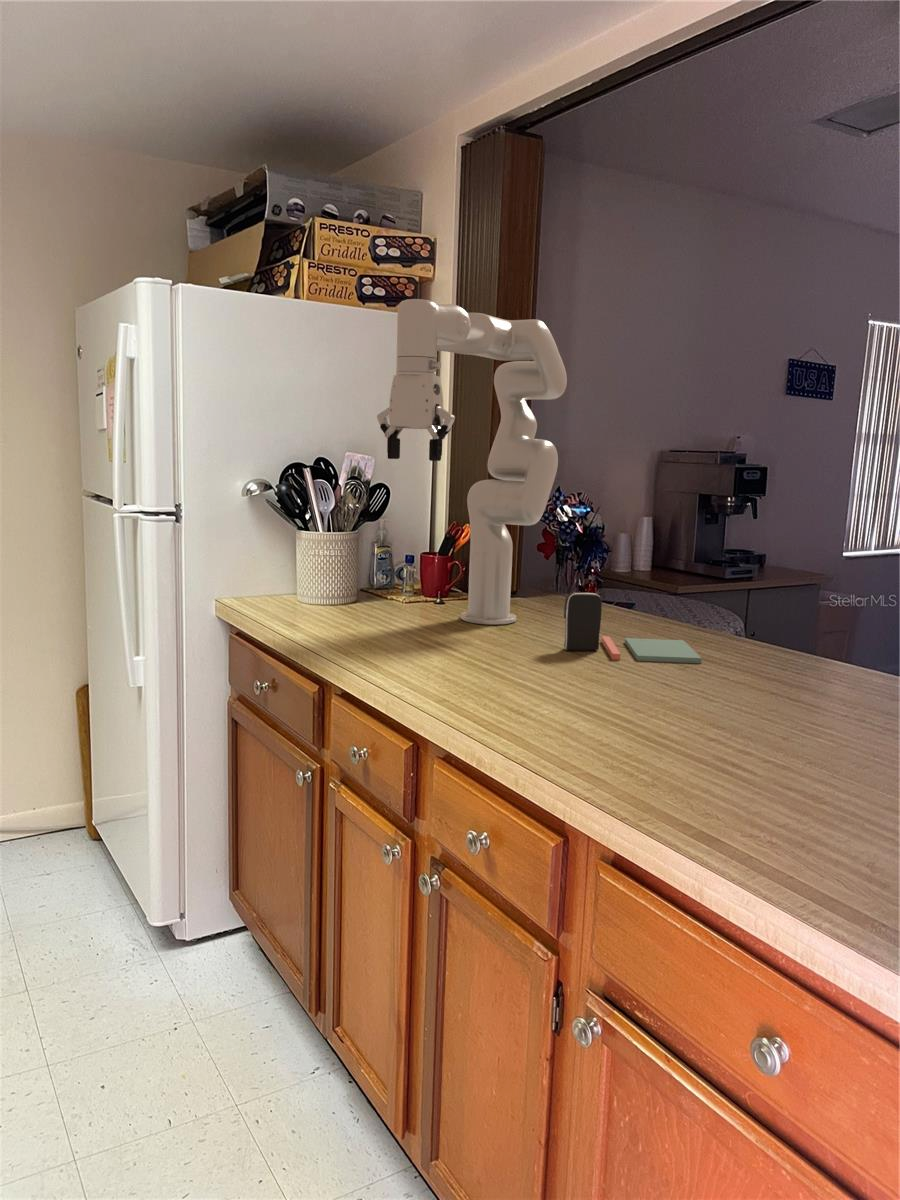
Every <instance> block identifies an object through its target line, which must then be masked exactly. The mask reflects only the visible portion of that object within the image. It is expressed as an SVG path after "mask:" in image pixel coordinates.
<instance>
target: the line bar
mask: <svg viewBox="0 0 900 1200" xmlns="http://www.w3.org/2000/svg"><path fill="white" fill-rule="evenodd" d="M601 644H602V645H603V647H604V648H605V651H606V652H607V654H608V655H609V657H610V659H611V660H612V661H620V660H621V653H620V651H619V649H618V648H617V645H615V643H614V641H613V640H612V638H611V637H610V636H609V635H607V636H606V635H602V636H601Z"/></svg>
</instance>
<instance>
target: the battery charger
mask: <svg viewBox="0 0 900 1200" xmlns="http://www.w3.org/2000/svg"><path fill="white" fill-rule="evenodd" d="M602 605H603V603H602V598H601V596H600V595H599V594H597V593H594V592H585V591H583V592H582V591H581V592H579V591H578V592H571V593H568V594H567V595H566V597H565V600H564V610H563V618H564V619H565V637H564V638H565V639H564V649H565V650H566V651H571V652H589V651H599V645H600V644H599V643H600V631H601V621H602V612H603V608H602Z"/></svg>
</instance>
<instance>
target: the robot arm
mask: <svg viewBox="0 0 900 1200" xmlns="http://www.w3.org/2000/svg"><path fill="white" fill-rule="evenodd" d="M396 321H397V323H396V324H397V326H396V327H397V328H396V329H397V330H396V332H397V333H396V369H395V370H396V371H395V372H396V373H395V374H396V375H393V378H392V382H391V388H390V396H389V405H388V406H389V407H388V408H386V409H384V410H383V411H381V412H380V413H378V414H377V416H376V418H377V422H378V424H379V425H380V430H381V431H382V432H383V433H384V438H386V443H387V444H386V445H387V446H386V449H387V450H386V452H387V459H388V460H399V459H400V457H401V438H400V437H399V435H400V434H401V432H402V431H403V430H404V429H407V430H408V429H411V430H412V429H413V430H426V431H427V432H428V433H429V435H430V436H431V439H429V443H428V444H429V451H428V454H429V455H428V460H429V461H431V462H440V461H441V460H442V455H443V440H445V439H446V437H447V435H448V434H449V432H450V431H451V430H452V429H451V427H452V426H453V424H454V422H455V419H456V416H455V415H454V414H452V413H450V412H449V411H448V410H446V409H445V408H444V396H443V388H442V382H441V377H440V376H439V375H437V370H440V369H441V367H442V363H441V361H437V352H445V353H451V354H452V353H453V354H454V353H455V354H457V355H458V354H459V355H469V356H471V355H472V356H478V357H483V358H488V359H493V360H497V361H503V362H504V361H509V362H504V363H502V364H500V365H499V366H497V367H496V370H495V373H494V376H493V385H494V389H495V390H494V391H495V393H496V397H497V401H498V405H499V410H500V423H499V426H498V429H497V431H496V434H495V438H494V440H493V443H492V447H491V450H490V452H489V454H488V459H487V471H488V473H489V474H490V476H491V477H493V478H495V479H484V480H483V479H482V480H479V481H477V482H475V483H474V484H473V485H471V487H470V489H469V491H468V493H467V498H466V503H467V511H468V518H469V528H470V530H469V531H470V539H469V541H470V543H469V544H470V545H469V567H468V568H469V569H468V570H469V573H468V574H469V575H468V593H467V594H468V599H467V602H468V603H467V610H466V611H463V612H461V613H460V619H461V620H463V621H465V622H467V623H471V624H480V625H492V626H493V625H494V626H495V625H496V626H497V625H508V624H512V623H515V622H516V621H517V615H516V614H514V613H512V612H510V611H511V590H512V567H513V551H514V550H513V544H514V543H513V540H512V536H511V534H510V531H509V530H508V528H507V526H506V525H513V526H515V525H516V526H533V525H536V524H538V522H539V521H540V520H541V519H542V516H543V515H544V512H545V510H546V507H547V504H548V501H549V497H550V494H551V492H552V488H553V485H554V482H555V479H556V476H557V470H558V466H559V465H558V464H559V457H558V455H559V454H558V450H557V448H556V446H555V445H554V444H553V443H552V442H551V441H549V440H546V439H542V438H541V439H540V438H536V437H535V436H536V433H537V430H538V429H537V428H538V421H537V420H536V416H535V415H534V413H533V411H532V410H531V408H530V407H529V406H528V403H527V401H526V400H545V401H546V400H547V401H549V400H556V399H558V398H560V397H561V396H562V395H564V393H565V391H566V388H567V384H568V377H567V371H566V367H565V365H564V362H563V359H562V357H561V355H560V352H559V348H558V346H557V344H556V341H555V340H554V336H553V335H552V332H551V331H550V329H549V328H548V327H547V325H546V324H545V323H544V322H543V321H542V320H540V319H533V318H532V319H514V320H513V319H512V320H511V319H503V318H500V317H495V316H492V315H489V314H486V313H480V312H467V311H466V310H465V309H464V308H463V307H461V306H459V305H458V304H454V303H453V304H452V303H451V304H450V303H449V304H446V303H435V302H434V301H432V300H429V299H421V298H411V299H410V298H409V299H405V300H402V301H401V302H399V303H398V306H397V319H396Z"/></svg>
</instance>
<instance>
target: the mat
mask: <svg viewBox="0 0 900 1200" xmlns="http://www.w3.org/2000/svg"><path fill="white" fill-rule="evenodd" d="M624 644H625V646H626V647H627V648H628V650H629V652H630V653H631V654H632V655H633V657H634V658H635V659H636V661H638V662H659V663H661V662H662V663H663V662H664V663H682V664H683V663H684V664H685V663H686V664H688V663H689V664H702V660H703V658H702V656H700V655H699V654H698V653H697V652H696V650H694V649H693V648H692V647H691V646H690V645H689V644H688V643H687V642H686V641H685V640H684V639H661V638H660V639H659V638H658V639H657V638H635V637H633V638H632V637H625V638H624Z"/></svg>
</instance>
